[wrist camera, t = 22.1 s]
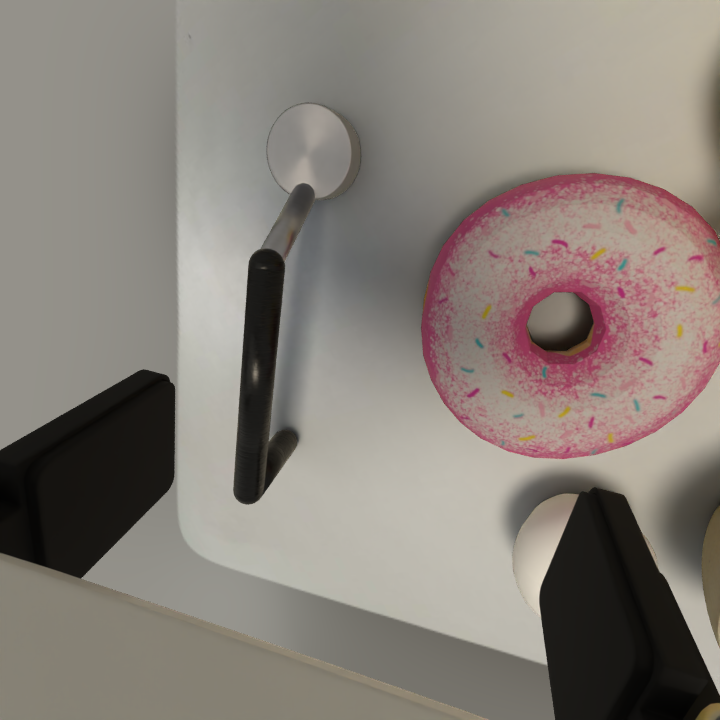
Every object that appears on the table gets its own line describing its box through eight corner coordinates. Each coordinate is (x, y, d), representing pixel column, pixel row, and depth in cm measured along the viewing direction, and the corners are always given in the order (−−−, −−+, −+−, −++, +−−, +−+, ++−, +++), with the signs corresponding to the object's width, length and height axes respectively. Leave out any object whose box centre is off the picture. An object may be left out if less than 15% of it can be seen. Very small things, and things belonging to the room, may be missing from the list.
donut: (688, 134, 21) (747, 118, 17) (715, 405, 25) (769, 454, 20) (398, 220, 25) (381, 226, 21) (455, 443, 29) (451, 491, 24)
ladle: (285, 103, 25) (220, 73, 18) (367, 115, 24) (329, 87, 18) (256, 439, 32) (202, 499, 26) (319, 455, 31) (280, 521, 25)
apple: (495, 552, 31) (501, 667, 23) (525, 457, 28) (542, 552, 21) (610, 584, 29) (655, 715, 22) (652, 488, 27) (718, 599, 20)
